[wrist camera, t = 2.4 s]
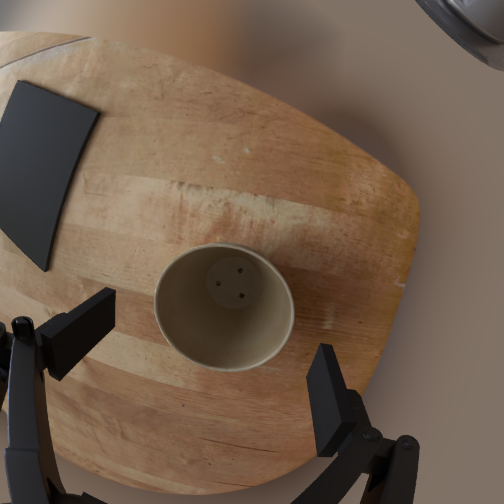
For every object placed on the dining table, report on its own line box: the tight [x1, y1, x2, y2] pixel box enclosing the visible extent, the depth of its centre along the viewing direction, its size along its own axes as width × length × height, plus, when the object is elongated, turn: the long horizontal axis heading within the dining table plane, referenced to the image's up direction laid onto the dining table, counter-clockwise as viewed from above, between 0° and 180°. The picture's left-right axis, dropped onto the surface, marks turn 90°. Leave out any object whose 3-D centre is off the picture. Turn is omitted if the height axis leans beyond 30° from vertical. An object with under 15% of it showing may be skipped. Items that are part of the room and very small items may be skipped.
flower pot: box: [154, 242, 295, 372], centre depth 22 cm, size 10×10×7 cm
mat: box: [0, 80, 101, 272], centre depth 24 cm, size 20×20×1 cm
